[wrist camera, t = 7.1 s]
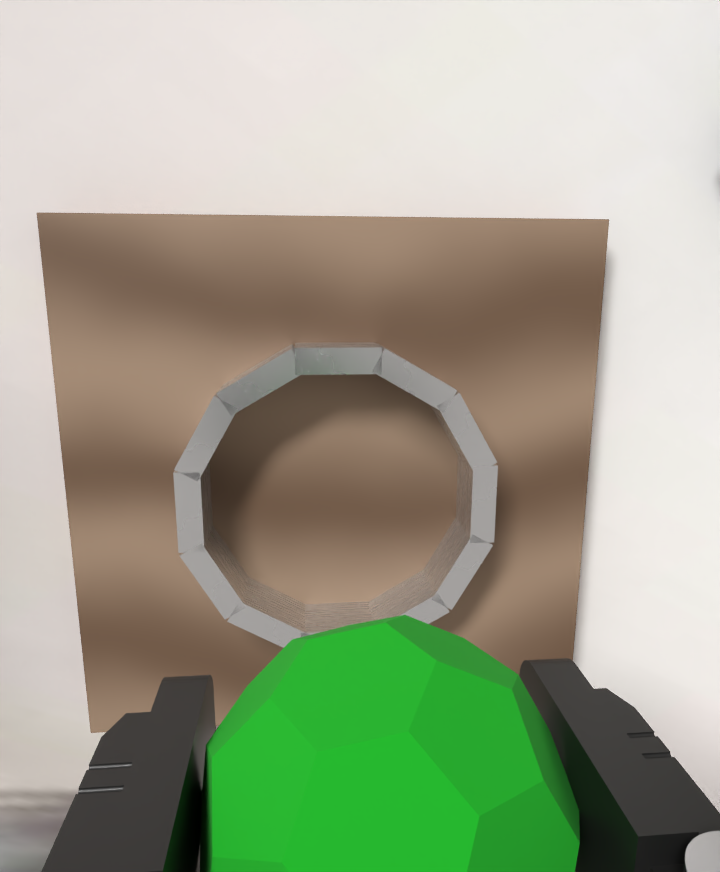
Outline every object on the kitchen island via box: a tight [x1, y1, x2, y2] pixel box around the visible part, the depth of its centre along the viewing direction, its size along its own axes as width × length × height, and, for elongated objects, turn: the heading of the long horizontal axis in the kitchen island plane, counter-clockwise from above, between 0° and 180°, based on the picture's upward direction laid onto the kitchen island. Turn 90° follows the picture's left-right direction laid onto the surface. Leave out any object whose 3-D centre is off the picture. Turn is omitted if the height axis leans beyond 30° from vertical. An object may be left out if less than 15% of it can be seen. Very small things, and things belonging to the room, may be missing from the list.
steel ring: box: [173, 342, 498, 648], centre depth 21 cm, size 10×10×2 cm
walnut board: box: [37, 213, 609, 733], centre depth 23 cm, size 18×18×2 cm
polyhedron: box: [200, 615, 580, 872], centre depth 9 cm, size 5×5×5 cm
